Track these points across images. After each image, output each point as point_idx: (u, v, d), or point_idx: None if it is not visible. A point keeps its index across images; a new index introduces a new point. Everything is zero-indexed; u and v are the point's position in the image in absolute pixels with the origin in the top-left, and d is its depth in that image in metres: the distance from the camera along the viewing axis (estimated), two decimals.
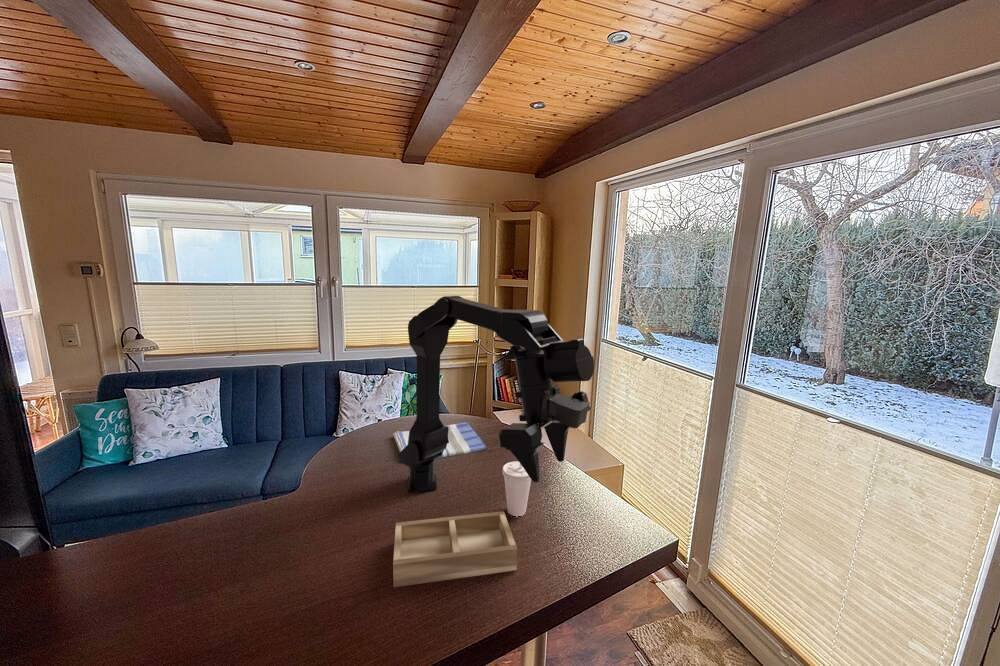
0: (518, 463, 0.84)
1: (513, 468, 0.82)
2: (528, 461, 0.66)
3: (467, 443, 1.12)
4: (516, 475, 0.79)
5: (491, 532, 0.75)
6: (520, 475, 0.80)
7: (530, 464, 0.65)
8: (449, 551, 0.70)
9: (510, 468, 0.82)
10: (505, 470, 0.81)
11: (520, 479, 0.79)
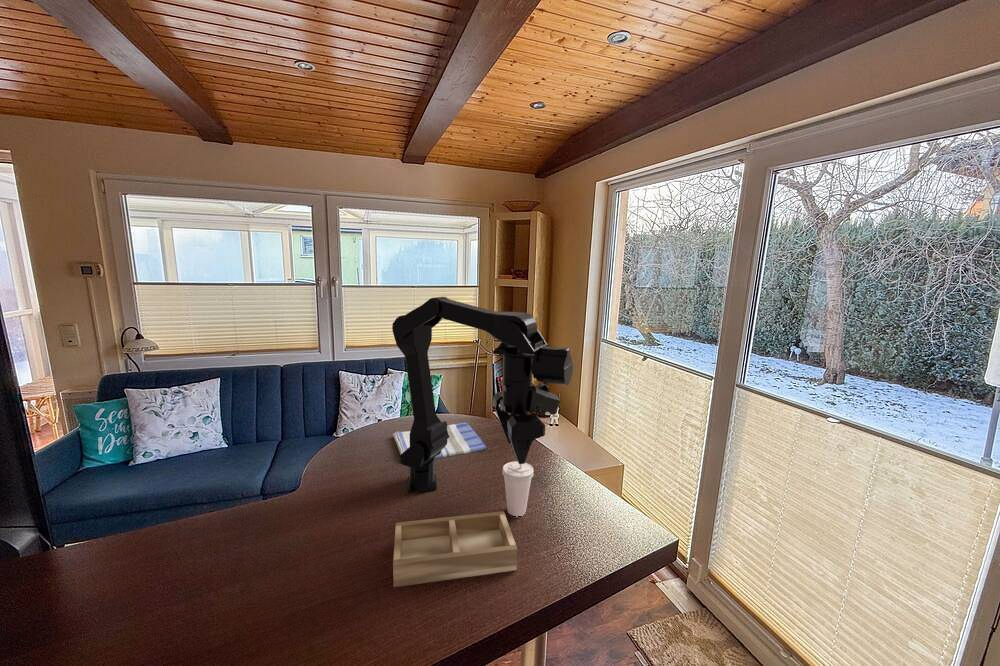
0: (518, 463, 0.84)
1: (513, 468, 0.82)
2: (523, 447, 0.75)
3: (467, 443, 1.12)
4: (516, 475, 0.79)
5: (491, 532, 0.75)
6: (519, 475, 0.80)
7: (524, 449, 0.75)
8: (449, 551, 0.70)
9: (510, 468, 0.82)
10: (505, 470, 0.81)
11: (520, 479, 0.79)
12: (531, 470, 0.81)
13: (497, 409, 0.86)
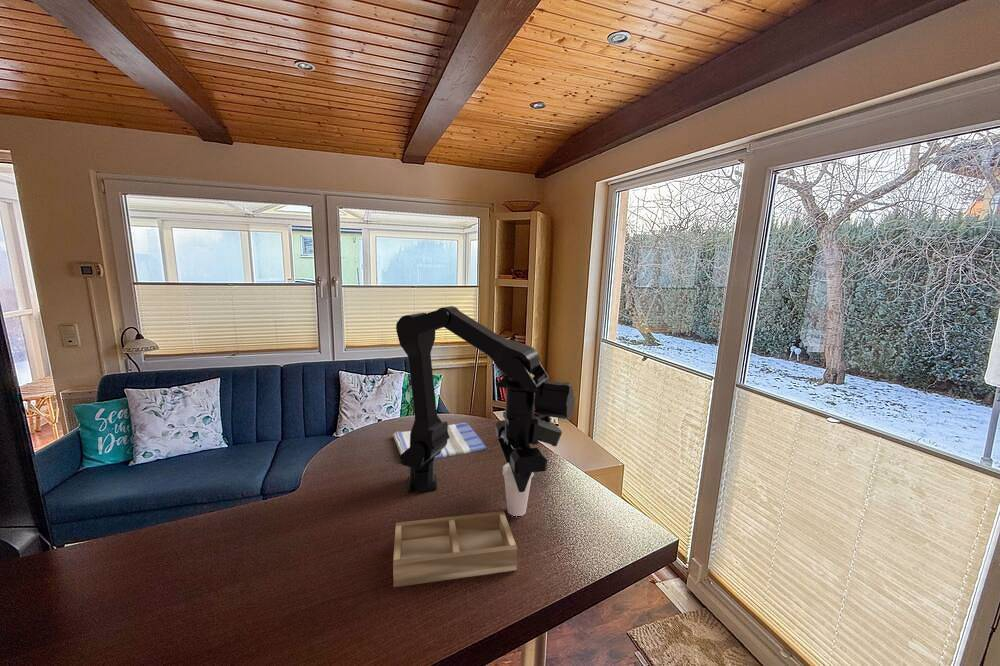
0: None
1: None
2: (523, 476, 0.78)
3: (467, 443, 1.12)
4: None
5: (491, 532, 0.75)
6: None
7: (524, 478, 0.78)
8: (449, 551, 0.70)
9: (510, 468, 0.82)
10: (505, 470, 0.81)
11: None
12: None
13: (500, 441, 0.86)
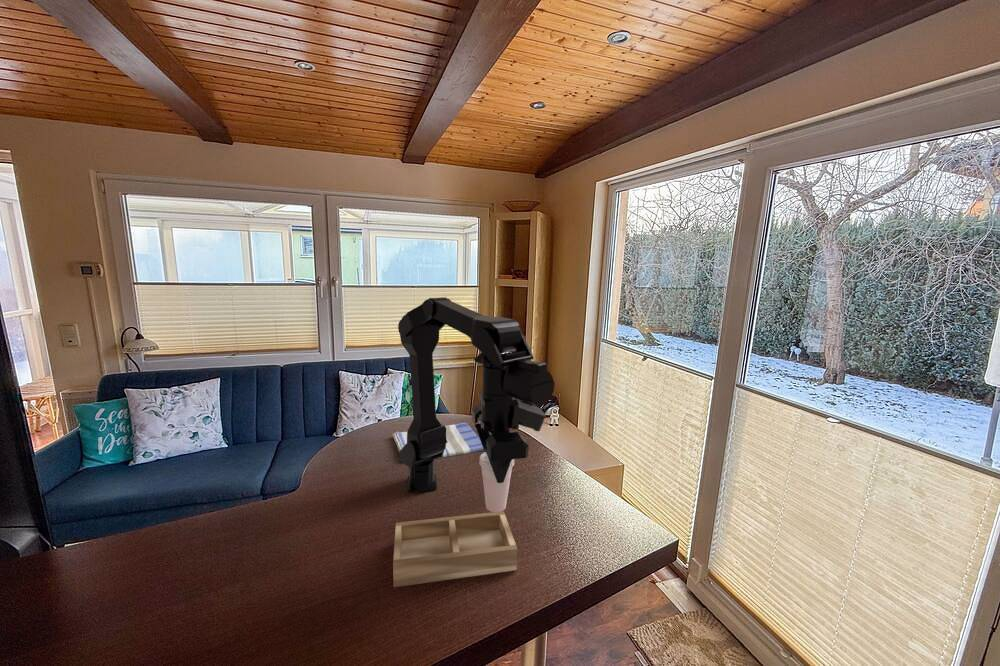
0: None
1: None
2: (501, 465, 0.68)
3: (467, 443, 1.12)
4: None
5: (491, 532, 0.75)
6: None
7: (503, 468, 0.69)
8: (449, 551, 0.70)
9: None
10: (482, 459, 0.72)
11: None
12: (512, 459, 0.72)
13: (477, 426, 0.77)
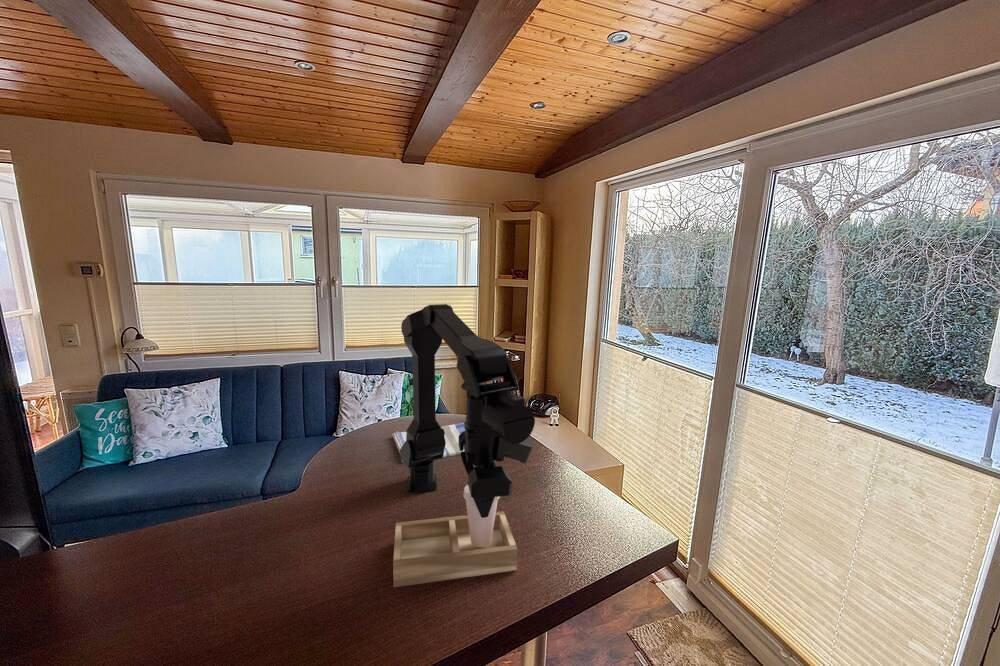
0: None
1: None
2: (485, 499, 0.65)
3: None
4: None
5: None
6: None
7: (487, 502, 0.65)
8: (449, 551, 0.70)
9: None
10: (466, 491, 0.69)
11: None
12: None
13: (463, 455, 0.73)
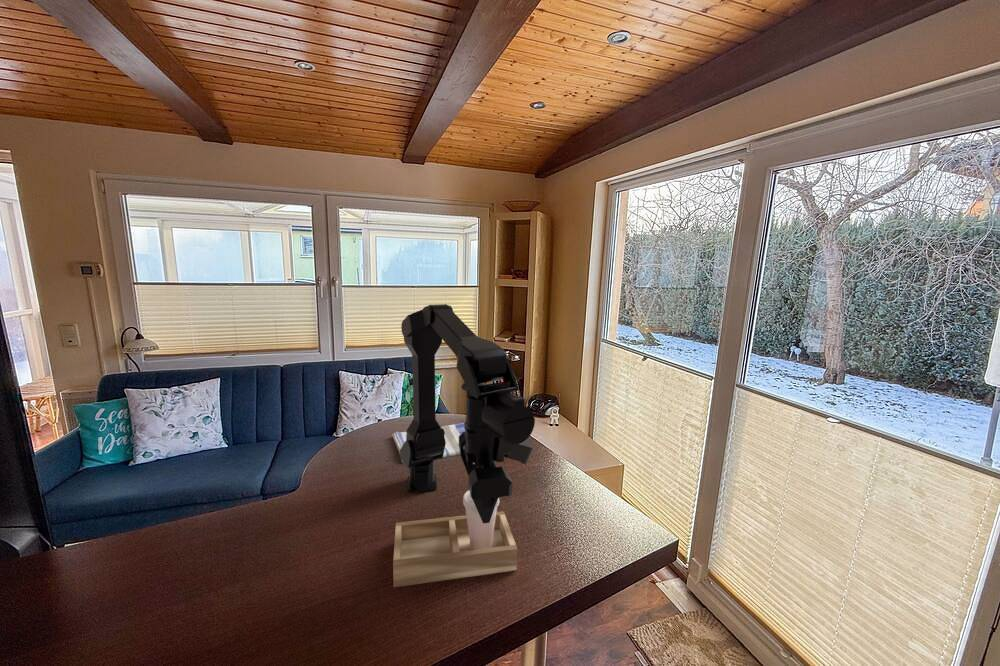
0: None
1: None
2: (487, 505, 0.64)
3: None
4: None
5: None
6: None
7: (488, 508, 0.64)
8: (449, 551, 0.70)
9: None
10: (466, 499, 0.69)
11: None
12: None
13: (462, 452, 0.75)
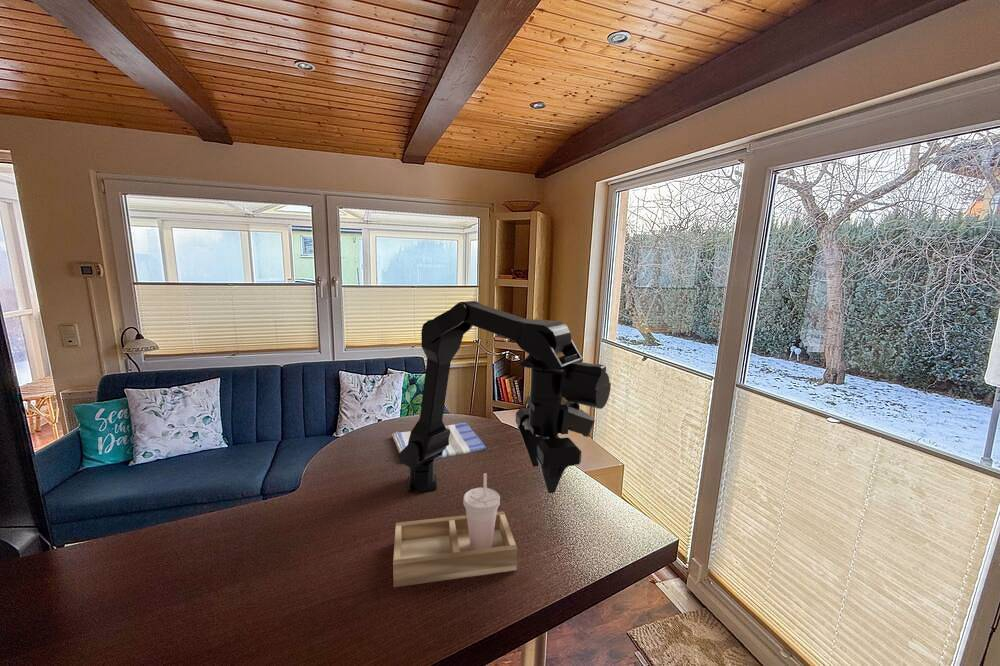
0: (483, 490, 0.72)
1: (476, 497, 0.70)
2: (554, 475, 0.66)
3: (467, 443, 1.12)
4: (478, 506, 0.67)
5: None
6: (483, 505, 0.68)
7: (555, 477, 0.66)
8: (449, 551, 0.70)
9: (472, 497, 0.70)
10: (466, 499, 0.69)
11: (483, 511, 0.67)
12: (497, 499, 0.69)
13: (520, 428, 0.77)
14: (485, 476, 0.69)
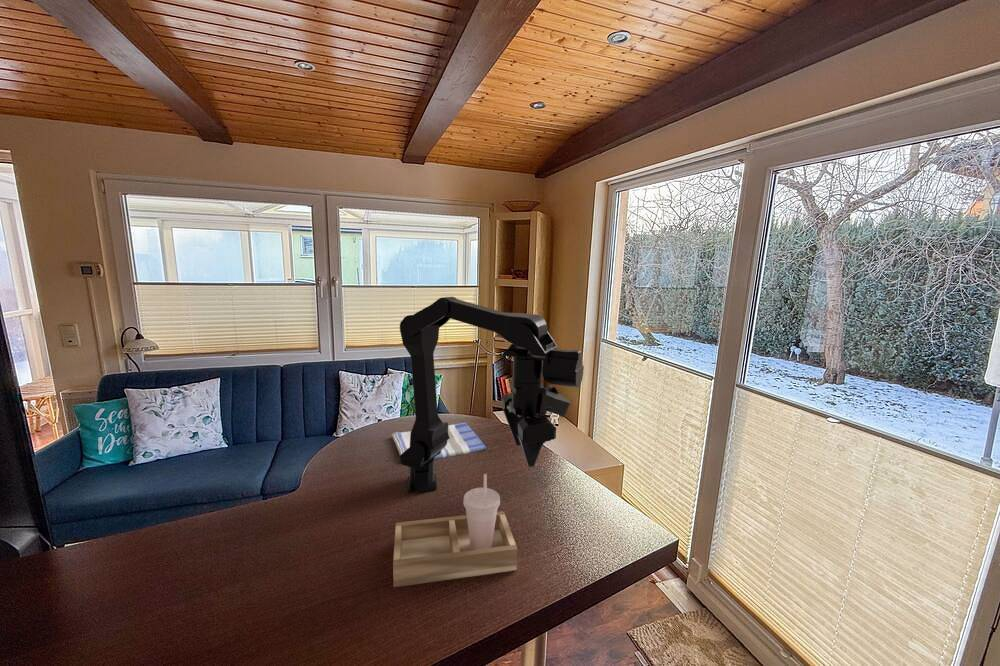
0: (483, 490, 0.72)
1: (476, 497, 0.70)
2: (533, 450, 0.74)
3: (467, 443, 1.12)
4: (478, 506, 0.67)
5: None
6: (483, 505, 0.67)
7: (534, 452, 0.75)
8: (449, 551, 0.70)
9: (472, 497, 0.70)
10: (466, 499, 0.69)
11: (483, 511, 0.67)
12: (497, 499, 0.69)
13: (505, 411, 0.85)
14: (485, 476, 0.69)
